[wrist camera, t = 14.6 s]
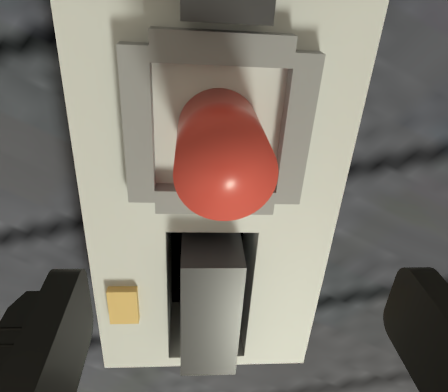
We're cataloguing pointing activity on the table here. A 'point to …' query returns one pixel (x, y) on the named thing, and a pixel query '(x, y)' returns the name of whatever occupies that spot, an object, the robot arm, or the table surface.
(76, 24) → the panel
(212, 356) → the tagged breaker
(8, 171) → the table surface
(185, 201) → the cap
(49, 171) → the table surface
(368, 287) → the table surface
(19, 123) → the table surface
